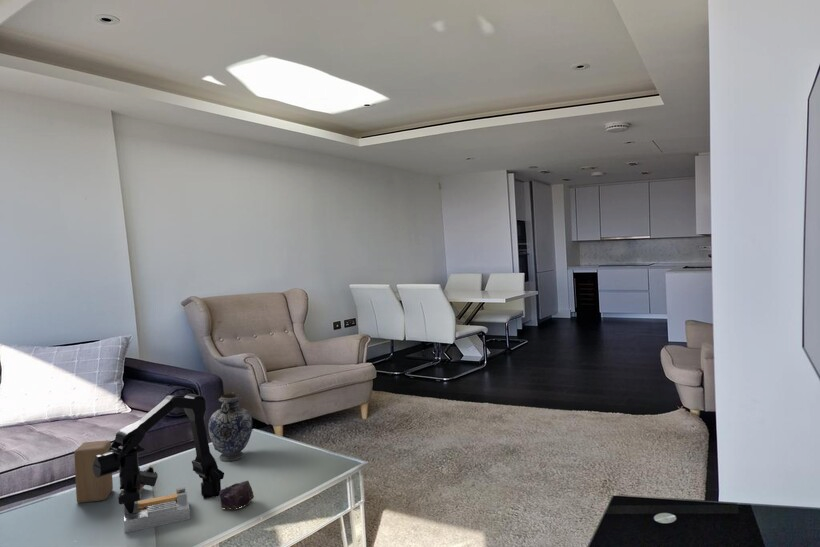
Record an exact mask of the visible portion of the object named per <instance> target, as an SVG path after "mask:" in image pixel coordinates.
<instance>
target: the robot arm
mask: <svg viewBox="0 0 820 547" xmlns="http://www.w3.org/2000/svg"><path fill="white" fill-rule="evenodd" d="M176 408H180V409H181V408H182V409H183V411H184V413H185V415H186V416H187V417H188V418H189V422H190V428H191V432H192V439H193V443H194V448H195V455H196V456H195V459H193V460H191V465H192V471H193V472H195V474H197V475H198V476H199V478H200V479H202V480H201V481H202V482H200V495H201V496H202V498H203V499H205V500H206V499H210V498H216V496H217V497H220V495H219V494H220V490H222V485H221V484H222V482H221V480H223V479H224V478H225V472H224V471H222V470H221V469H219V467H218V464H217V461H216V459H215V457H214V456H213V454H212V453H211V450H210V444H209V439H208V434H207V433H208V432H207V428H206V424H205V422H206V421H205V413H206V410H207V401H206V398H205V397H203V396H202V395H199V394H196V393H195V394H194V393H188V394H185V395H181V394H180V395H173V394H169V395H166V396H165V398H164V399H163V400H161V401H160V402H159V403H158V404H157V405H155V407H153V408H152V409H151V410H149V411H148V412H147V413H146V414H144V416H142V417H140V419H139V420H137V421H135V422H133V423H131V424H128V425H126V426H124V427H122V428H121V429H119V430H118V432H116V433H115V439H114V440H113V441H112V443H111V447H110V448H109V450H108V451H109V453H106V454H102V455H97V456H95V460H94V462H93V465H92V467H93V472H94V475H95V476H96V477H97V478H99V477H102V476H105V475H108V474H111V473H112V474H114V473H117V472H119V473H118V475H119V476H118V477H119V490H120V493H118V497H117V499H118V502H117V503H118V505H123V507H124V506H125V507H126V509H127V511H128V512H129V514H131V513H133V510H134V504H135V502H136V501H141V491H140V484H142V485H145V486H148V487H149V486H150V487H155V486H156V483H157V479H158V477H159V476H158V473H157V471H155V470H154V467H152V466H149V467H148V466H147V468H146V469H145V470H144V469H143V470H141V469H140V466H139V453H141V452H143V451H145V447H144V448H143V447H142V446H141V445H140V443H141V442H143V440H144V439H145V437H146V435H147V433H148V432H149V431H150V430H151V429H152V428H153V427H155V425H157V424H158V423H159V422H160V421H161V420H163V419H164V418H165V417H166V416H167V415H169V413H171V412H172V411H174V410H175V409H176ZM120 447H122V448H120Z"/></svg>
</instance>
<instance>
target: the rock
mask: <svg viewBox="0 0 820 547" xmlns="http://www.w3.org/2000/svg"><path fill="white" fill-rule="evenodd" d="M219 495H220V496H219V499H220V507H221V509H222V508H225V509H224V510H234V509H236V508H239V507H241V506H244V505H246V506H248V505H250V502H251V501H252V500H253V499H254V498H255V496H254V495H255V494H254V491H253V488H252V486H251V483H250V482H249V480H245V481H241V482H239V483H237V482H236V483H233V484H232V485H230V486H229V485H228V487H225V488H223V489H221V490H220V494H219ZM247 504H248V505H247ZM229 508H231V509H229Z"/></svg>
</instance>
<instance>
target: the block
mask: <svg viewBox="0 0 820 547" xmlns="http://www.w3.org/2000/svg"><path fill="white" fill-rule="evenodd" d="M111 445H112V443H111V441H110V440H98V441H85V442H83V443H82V444H81V445H80V446H78V447H77V448H76V449H75V450H74V451H73V453H74V455H73V456H74V458H73V459H74V471H75V472H74V473H75V495H76V496H75V497H76V502H77V504H80V503H89V502H90V503H92V502H101V500H102V501H105V500H106V499H107V498H108V497H109V495H111V494H110V493H112V491H113V489H114V484H113V473H111V474H108V475H105V476H102V477H99V478H97V477H96V476H95V475H94V472H93V467H92V465H93V462H94V460H95V456H97V455H102V454H106V453H109V451H108V450H109V448H110V447H111Z"/></svg>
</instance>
